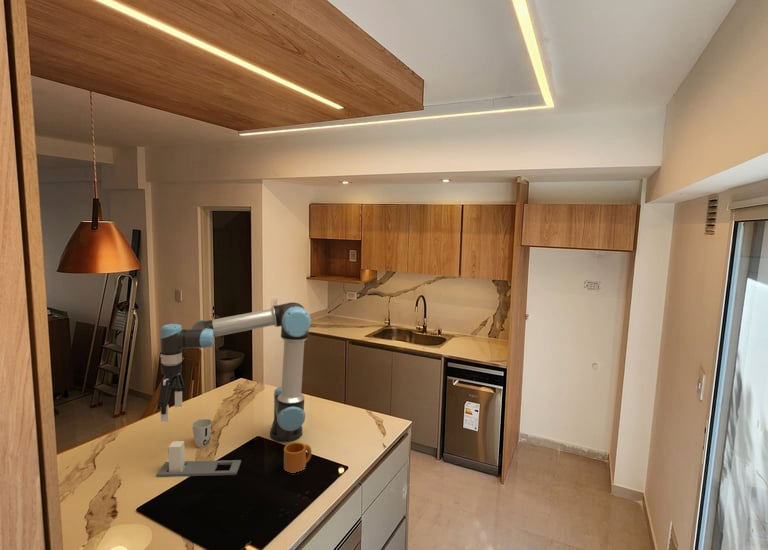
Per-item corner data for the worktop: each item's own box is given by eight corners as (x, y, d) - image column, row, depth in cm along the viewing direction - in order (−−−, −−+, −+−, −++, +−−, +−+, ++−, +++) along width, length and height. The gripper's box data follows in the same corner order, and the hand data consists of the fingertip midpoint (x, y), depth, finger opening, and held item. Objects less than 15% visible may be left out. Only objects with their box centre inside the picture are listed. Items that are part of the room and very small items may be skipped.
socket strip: (241, 462, 179) (241, 460, 179) (236, 474, 170) (236, 472, 170) (165, 464, 176) (165, 461, 175) (156, 476, 167) (156, 474, 167)
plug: (184, 466, 174) (184, 441, 173) (180, 473, 170) (180, 446, 169) (171, 467, 174) (171, 441, 172) (167, 473, 169) (167, 447, 168)
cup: (205, 450, 187) (205, 428, 186) (188, 447, 189) (188, 426, 188) (215, 441, 195) (215, 420, 194) (200, 438, 197) (199, 417, 196)
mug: (316, 469, 177) (316, 448, 175) (287, 476, 171) (287, 455, 169) (308, 458, 184) (309, 438, 183) (281, 465, 178) (281, 444, 177)
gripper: (174, 353, 183) (174, 400, 186) (147, 373, 159) (147, 427, 161) (192, 353, 184) (192, 401, 186) (168, 373, 159) (168, 428, 162)
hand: (171, 413), depth 174 cm, fingers open, 13 cm apart
